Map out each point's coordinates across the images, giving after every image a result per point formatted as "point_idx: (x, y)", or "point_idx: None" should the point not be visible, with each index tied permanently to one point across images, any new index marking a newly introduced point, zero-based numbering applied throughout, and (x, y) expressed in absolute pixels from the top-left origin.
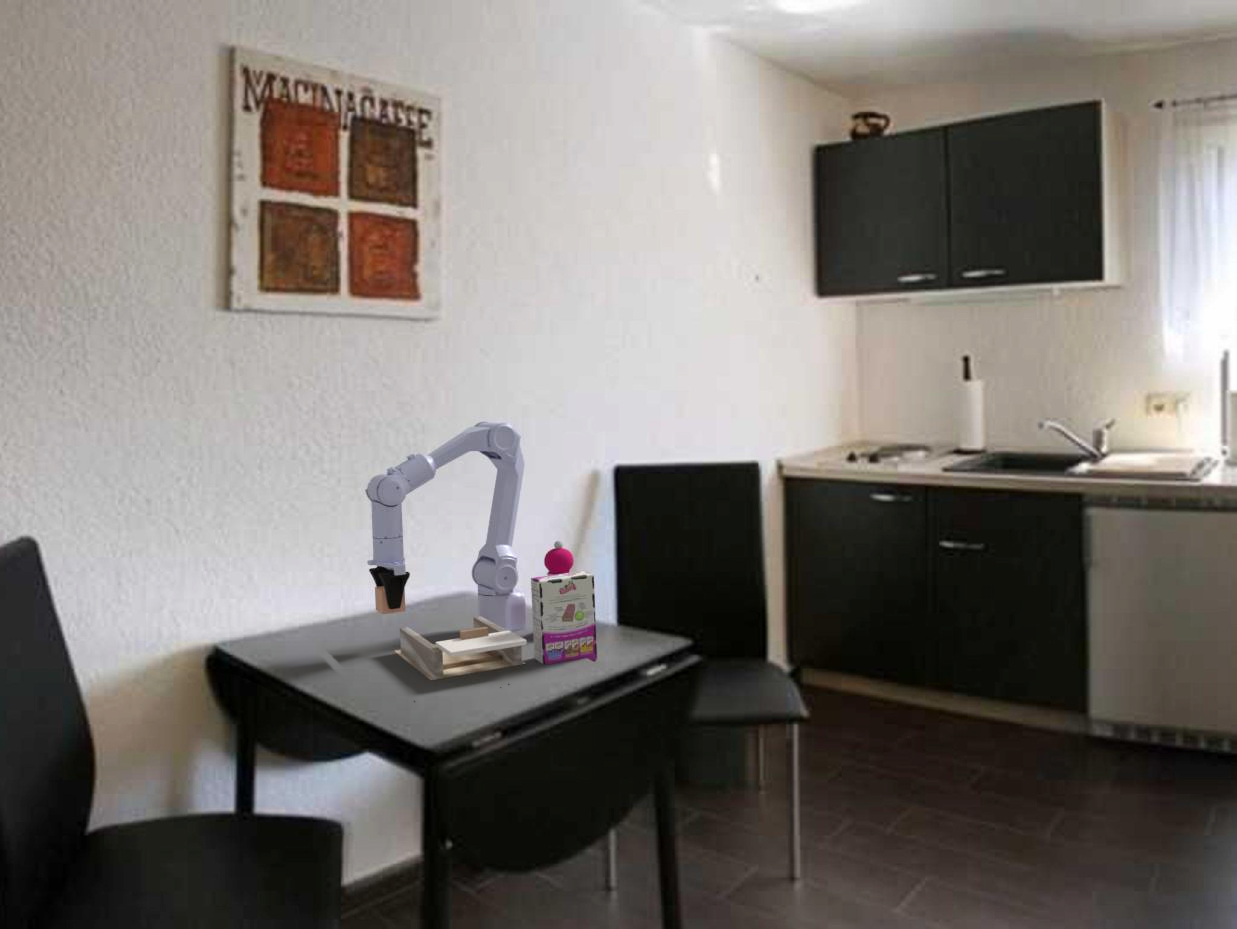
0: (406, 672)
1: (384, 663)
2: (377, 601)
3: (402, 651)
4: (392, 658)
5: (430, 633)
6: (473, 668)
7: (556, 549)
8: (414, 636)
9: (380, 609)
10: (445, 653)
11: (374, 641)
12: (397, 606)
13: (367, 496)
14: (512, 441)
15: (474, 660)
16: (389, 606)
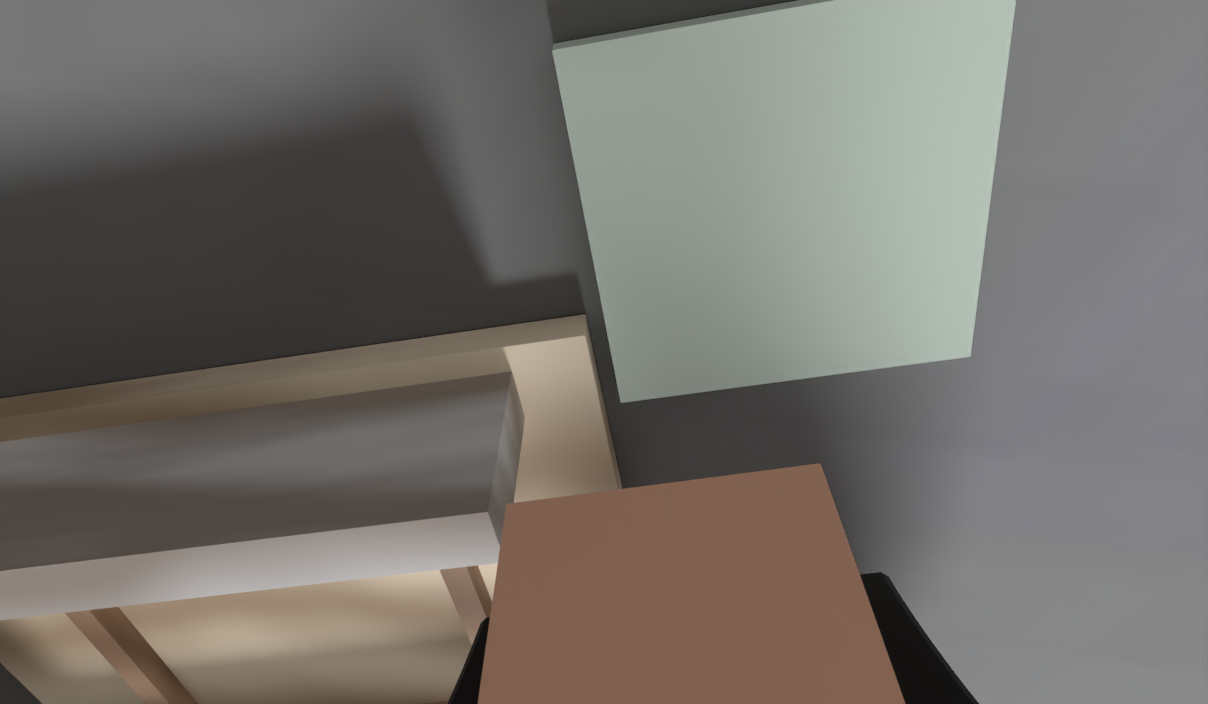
0: (125, 336)
1: (397, 227)
2: (741, 587)
3: (467, 387)
4: (520, 295)
5: (1023, 559)
6: (44, 637)
7: None
8: (133, 568)
9: (590, 529)
10: (389, 577)
11: (1111, 226)
12: None
13: None
14: None
15: (119, 669)
16: (470, 650)
